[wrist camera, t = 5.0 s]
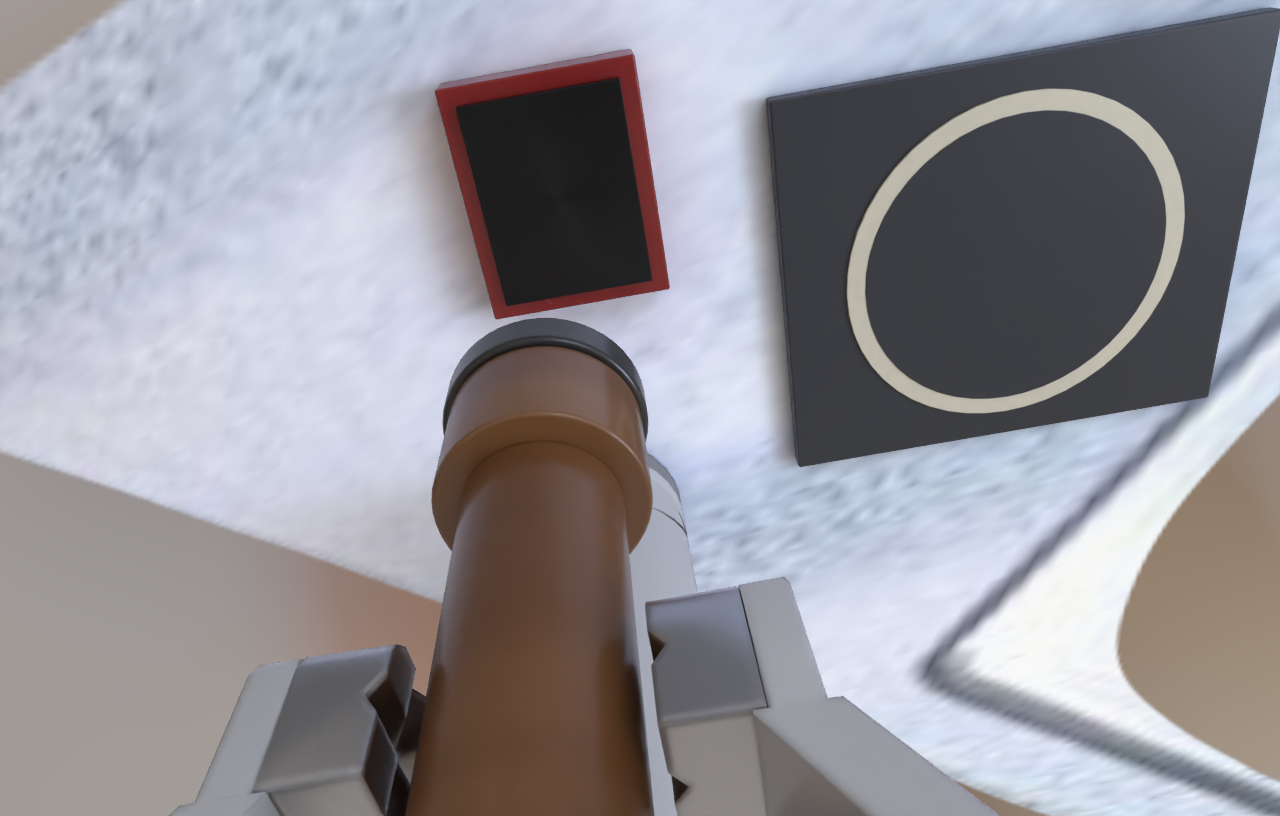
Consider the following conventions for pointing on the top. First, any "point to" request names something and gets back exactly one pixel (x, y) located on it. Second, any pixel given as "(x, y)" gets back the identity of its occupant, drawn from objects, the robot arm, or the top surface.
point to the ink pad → (557, 182)
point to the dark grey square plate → (1014, 234)
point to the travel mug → (656, 576)
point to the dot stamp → (538, 582)
